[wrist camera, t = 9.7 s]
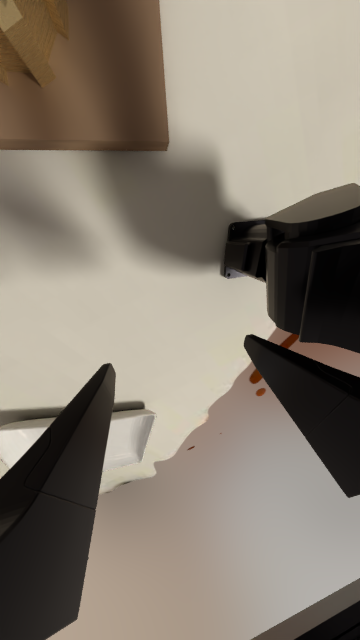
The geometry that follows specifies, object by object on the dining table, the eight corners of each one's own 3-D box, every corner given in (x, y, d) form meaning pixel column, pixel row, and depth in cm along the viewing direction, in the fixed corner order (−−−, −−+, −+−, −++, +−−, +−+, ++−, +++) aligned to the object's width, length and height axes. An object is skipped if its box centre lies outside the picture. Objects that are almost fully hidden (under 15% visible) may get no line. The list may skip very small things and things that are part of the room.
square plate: (35, 467, 37) (24, 490, 33) (-2, 408, 24) (-24, 435, 21) (142, 449, 45) (142, 465, 42) (156, 398, 32) (158, 416, 29)
